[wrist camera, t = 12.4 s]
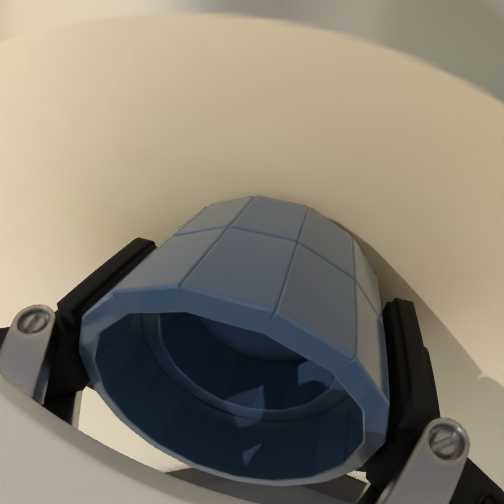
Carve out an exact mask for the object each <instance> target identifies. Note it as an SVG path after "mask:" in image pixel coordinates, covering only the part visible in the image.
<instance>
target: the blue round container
mask: <svg viewBox="0 0 504 504" xmlns="http://www.w3.org/2000/svg"><path fill="white" fill-rule="evenodd" d="M79 354H80V357H81V360H82V362H83V365H84V367H85V370H86V372H87V375H88V377H89V380H90V382H91V385H92V386H93V388H94V389H95V390H96V391H97V393H98V394H99V395H100V397H101V398H102V399H103V400H104V402H105V403H106V404H107V405H108V407H109V408H110V409H111V410H112V412H113V413H114V414H115V415H116V416H117V417H118V418H119V419H120V420H121V421H122V422H123V423H124V424H125V425H127V426H128V427H129V428H130V429H131V430H133V431H134V432H135V433H136V434H138V435H139V436H140V437H142V438H143V439H144V440H145V441H147V442H148V443H149V444H151V445H153V446H154V447H155V448H157V449H159V450H161V451H162V452H164V453H166V454H168V455H170V456H172V457H173V458H175V459H177V460H179V461H181V462H183V463H185V464H187V465H189V466H191V467H193V468H196V469H199V470H202V471H205V472H208V473H211V474H214V475H217V476H220V477H224V478H227V479H230V480H234V481H239V482H246V483H253V484H262V485H271V486H292V485H303V484H313V483H321V482H326V481H328V480H331V479H334V478H337V477H339V476H342V475H344V474H347V473H349V472H352V471H354V470H357V469H359V468H360V467H362V466H363V465H364V464H365V463H366V462H367V461H368V460H369V459H370V458H371V457H372V456H373V455H374V454H375V453H376V452H377V451H378V450H379V449H380V448H381V447H382V446H383V445H384V444H385V442H386V440H387V432H388V422H389V410H390V396H389V378H388V364H387V352H386V341H385V332H384V324H383V316H382V308H381V300H380V293H379V286H378V280H377V277H376V274H375V272H374V270H373V268H372V267H371V265H370V263H369V262H368V260H367V258H366V257H365V255H364V254H363V252H362V250H361V249H360V247H359V245H358V244H357V242H356V241H355V239H354V238H353V237H352V236H351V235H350V234H349V233H347V232H346V231H344V230H343V229H342V228H340V227H339V226H337V225H336V224H334V223H333V222H331V221H330V220H328V219H327V218H325V217H324V216H322V215H321V214H320V213H318V212H317V211H315V210H314V209H312V208H310V207H307V206H305V205H300V204H296V203H291V202H286V201H281V200H276V199H271V198H266V197H261V196H256V197H254V196H250V197H245V198H240V199H235V200H230V201H226V202H221V203H216V204H212V205H209V206H208V207H205V208H203V209H202V210H201V211H200V212H198V213H197V214H196V215H194V216H193V217H192V218H191V219H189V220H188V221H187V222H186V223H184V224H183V225H182V226H180V227H179V228H178V229H177V230H176V231H174V232H173V233H172V234H171V235H170V236H169V237H167V238H166V239H165V240H164V241H163V242H162V243H161V244H159V245H158V246H157V247H156V248H155V249H154V250H153V251H151V252H150V253H149V254H148V255H147V256H146V257H145V258H144V259H142V260H141V261H140V262H139V263H138V264H137V265H136V266H135V267H133V268H132V269H131V270H130V271H129V272H128V273H127V274H126V275H125V276H124V277H123V278H121V279H120V280H119V281H118V282H117V283H116V284H115V285H114V286H113V287H112V288H111V289H110V290H109V291H107V292H106V293H105V294H104V295H103V296H102V297H101V298H100V299H99V300H98V301H97V302H96V303H95V304H94V305H93V306H92V307H91V308H90V309H89V310H88V311H87V312H86V313H84V315H83V317H82V323H81V331H80V339H79Z"/></svg>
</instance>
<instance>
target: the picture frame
mask: <svg viewBox="0 0 504 504" xmlns="http://www.w3.org/2000/svg"><path fill="white" fill-rule="evenodd" d="M165 474H168V475H170V476H173V477H175V478H178V479H181V480H183V481H186V482H189V483H191V484H194V485H197V486H200V487H203V488H206V489H209V490H212V491H215V492H219V493H222V494H225V495H229V496H232V497H236V498H239V499H243V500H247V501H251V502H255V503H259V504H353V503H354V502H355V500H356V499H357V498H358V496H359V495H360V494H361V492H362V491H363V489H364V488H365V487H366V485H367V484H365V483H362V482H360V481H357V480H355V479H352V478H350V477H348V476H345V475H342V476H339V477H337V478H334V479H331V480H328V481H326V482H321V483H313V484H303V485H292V486H271V485H262V484H253V483H246V482H239V481H234V480H230V479H227V478H224V477H220V476H217V475H214V474H211V473H208V472H205V471H202V470H199V469H196V468H190V469H185V470H179V471H174V472H168V473H165Z"/></svg>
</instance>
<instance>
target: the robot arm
mask: <svg viewBox="0 0 504 504" xmlns="http://www.w3.org/2000/svg"><path fill="white" fill-rule="evenodd" d="M155 248H156V245H155V243H154V242H153V241H150V240H146V239H142V238H136V239H135V240H133V241H132V242H131V243H129V244H128V245H127V246H126V247H124V248H123V249H122V250H120V251H119V252H118V253H117V254H115V255H114V256H113V257H112V258H110V259H109V260H108V261H107V262H105V263H104V264H103V265H102V266H100V267H99V268H98V269H97V270H96V271H94V272H93V273H92V274H91V275H89V276H88V277H87V278H86V279H85V280H83V281H82V282H81V283H80V284H79V285H78V286H76V287H75V288H74V289H73V290H72V291H71V292H69V293H68V294H67V295H66V296H65V297H64V298H62V299H61V300H60V301H59V302H58V303H57V306H58V310H57V311H56V312H54V311H53V310H52V309H51V308H50V307H48V306H46V305H40V304H39V305H32V306H29V307H26V308H25V309H23V310H21V311H20V312H19V313H18V314H17V315H16V316H15V318H14V319H13V322H12V324H11V326H10V327H6V328H0V504H259V503H255V502H251V501H247V500H243V499H239V498H236V497H232V496H229V495H225V494H222V493H219V492H215V491H212V490H209V489H206V488H203V487H200V486H197V485H194V484H191V483H189V482H186V481H183V480H181V479H178V478H175V477H173V476H170V475H168V474H165V473H163V472H160V471H158V470H156V469H153V468H151V467H149V466H147V465H144V464H142V463H140V462H138V461H136V460H134V459H131V458H129V457H127V456H125V455H123V454H121V453H119V452H117V451H115V450H113V449H112V448H110V447H108V446H106V445H104V444H102V443H100V442H99V441H97V440H95V439H93V438H91V437H90V436H88V435H86V434H84V433H83V432H81V431H79V430H78V423H79V414H80V406H81V398H82V391H83V389H84V388H85V387H86V386H87V387H89V388H91V389H93V390H95V389H94V388H93V386H92V385H91V382H90V380H89V377H88V375H87V372H86V370H85V367H84V365H83V362H82V360H81V357H80V354H79V339H80V331H81V323H82V317H83V315H84V313H86V312H87V311H88V310H89V309H90V308H91V307H92V306H93V305H94V304H95V303H96V302H97V301H98V300H99V299H100V298H101V297H102V296H103V295H104V294H105V293H106V292H107V291H109V290H110V289H111V288H112V287H113V286H114V285H115V284H116V283H117V282H118V281H119V280H120V279H121V278H123V277H124V276H125V275H126V274H127V273H128V272H129V271H130V270H131V269H132V268H133V267H135V266H136V265H137V264H138V263H139V262H140V261H141V260H142V259H144V258H145V257H146V256H147V255H148V254H149V253H150V252H151V251H153V250H154V249H155ZM382 316H383V324H384V332H385V341H386V352H387V364H388V378H389V396H390V410H389V422H388V432H387V440H386V442H385V444H384V445H383V446H382V447H381V448H380V449H379V450H378V451H377V452H376V453H375V454H374V455H373V456H372V457H371V458H370V459H369V460H368V461H367V462H366V463H365V464H364V465H363V466H362V467H360V468H359V469H357V470H355V471H361V472H366V479H367V480H368V481H369V482H368V484H367V485H366V487H365V488H364V489H363V491H362V492H361V494H360V495H359V496H358V498H357V499H356V500H355V502H354V503H353V504H504V492H503V490H502V489H501V488H500V487H499V486H498V485H496V484H495V483H494V482H493V481H492V480H491V479H490V478H489V477H488V476H487V475H486V474H485V473H484V472H483V471H482V470H481V469H480V468H479V467H477V466H476V465H475V464H474V463H473V462H472V461H471V460H470V459H469V458H468V457H467V456H468V453H469V448H470V441H469V437H468V434H467V432H466V430H465V429H464V428H463V427H462V425H461V424H459V423H458V422H456V421H455V420H452V419H450V418H443V417H440V411H439V404H438V398H437V392H436V386H435V381H434V376H433V371H432V366H431V361H430V356H429V352H428V350H427V348H425V347H424V345H423V340H422V336H421V332H420V328H419V324H418V320H417V316H416V312H415V308H414V304H413V302H411V301H407V300H402V299H398V298H395V299H394V300H393V302H389V301H388V302H387V303H386V305H385V308H384V310H383V312H382ZM95 391H96V390H95Z"/></svg>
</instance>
